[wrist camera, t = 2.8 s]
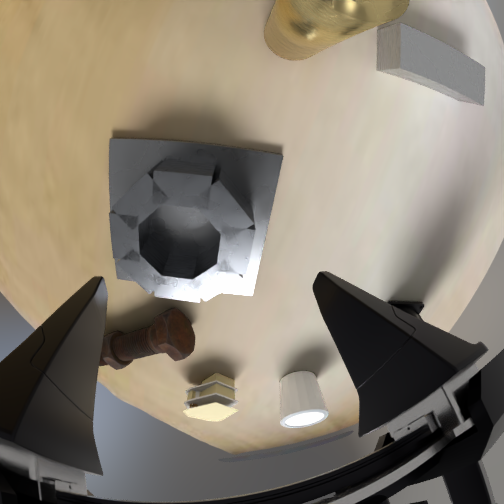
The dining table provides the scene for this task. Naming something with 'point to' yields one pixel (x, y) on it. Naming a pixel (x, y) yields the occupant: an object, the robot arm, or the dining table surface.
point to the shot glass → (301, 400)
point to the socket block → (189, 215)
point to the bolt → (150, 341)
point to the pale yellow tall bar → (323, 23)
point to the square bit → (429, 63)
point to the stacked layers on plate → (212, 399)
